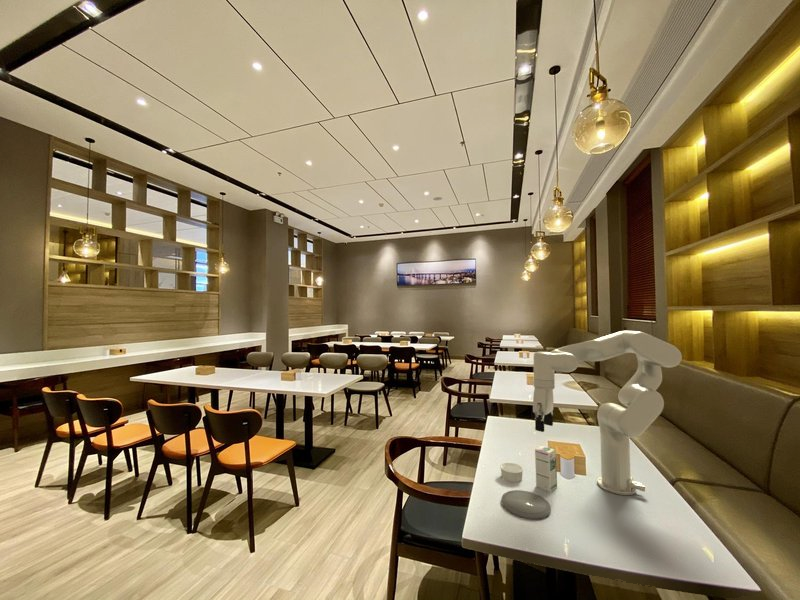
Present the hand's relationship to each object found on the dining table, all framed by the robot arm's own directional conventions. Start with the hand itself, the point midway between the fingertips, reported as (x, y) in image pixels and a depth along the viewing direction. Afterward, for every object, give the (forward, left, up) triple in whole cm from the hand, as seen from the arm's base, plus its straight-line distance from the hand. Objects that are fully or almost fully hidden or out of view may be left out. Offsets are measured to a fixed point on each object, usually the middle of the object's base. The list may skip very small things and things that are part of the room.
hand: (544, 427), depth 129 cm
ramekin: (+13, +2, -23) cm, 26 cm away
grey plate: (+1, +18, -22) cm, 29 cm away
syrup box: (0, 0, -23) cm, 23 cm away
